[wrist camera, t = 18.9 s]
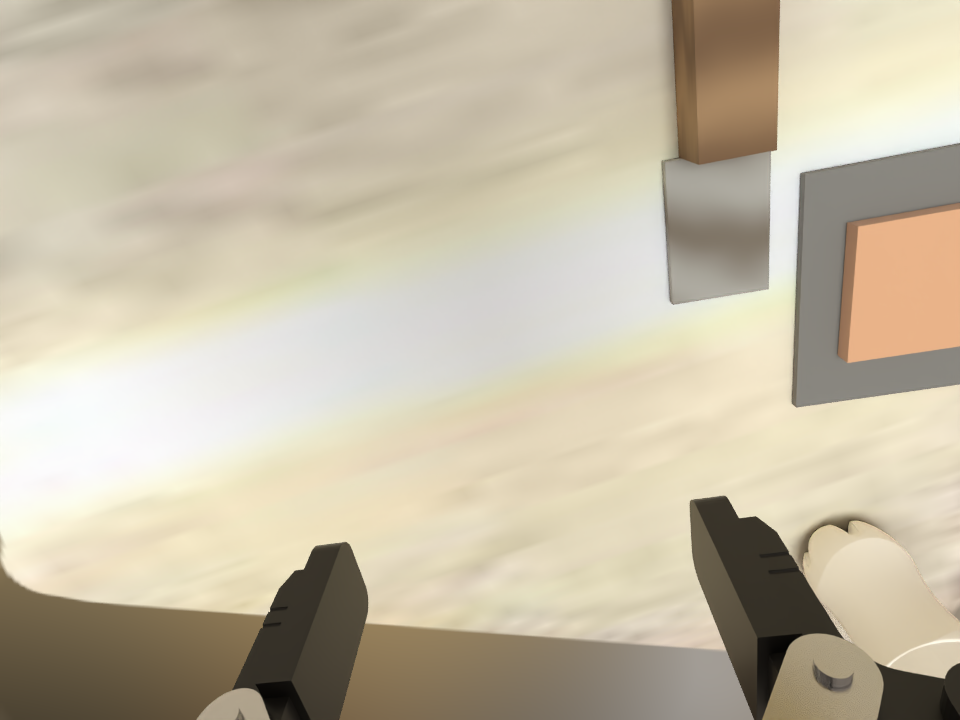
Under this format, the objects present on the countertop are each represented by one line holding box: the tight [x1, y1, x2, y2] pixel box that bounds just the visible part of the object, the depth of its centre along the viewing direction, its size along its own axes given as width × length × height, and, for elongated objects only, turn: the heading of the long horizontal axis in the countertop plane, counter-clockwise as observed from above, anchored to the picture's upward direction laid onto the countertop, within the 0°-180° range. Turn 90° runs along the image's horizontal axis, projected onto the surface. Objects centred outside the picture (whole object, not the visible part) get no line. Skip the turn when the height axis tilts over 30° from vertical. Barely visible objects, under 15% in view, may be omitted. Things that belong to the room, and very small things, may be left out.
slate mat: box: [792, 143, 960, 407], centre depth 36 cm, size 16×12×1 cm
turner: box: [662, 0, 780, 305], centre depth 31 cm, size 21×6×4 cm, turn 11°
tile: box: [838, 203, 960, 363], centre depth 35 cm, size 1×7×9 cm
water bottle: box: [803, 521, 960, 679], centre depth 34 cm, size 7×7×25 cm
